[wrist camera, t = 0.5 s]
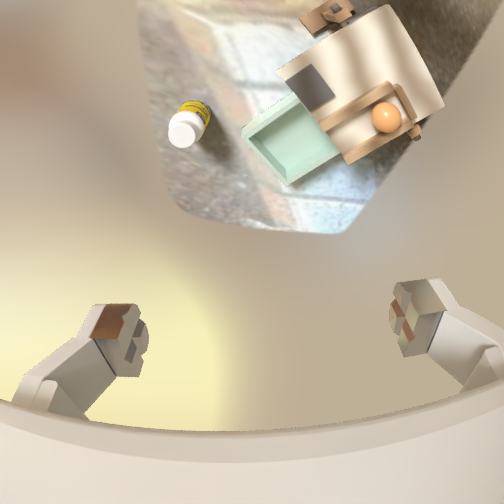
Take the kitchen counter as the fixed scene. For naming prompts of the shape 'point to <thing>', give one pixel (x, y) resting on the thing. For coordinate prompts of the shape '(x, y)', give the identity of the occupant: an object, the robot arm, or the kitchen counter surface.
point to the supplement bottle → (189, 123)
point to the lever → (363, 81)
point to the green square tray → (289, 139)
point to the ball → (386, 117)
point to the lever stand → (338, 12)
